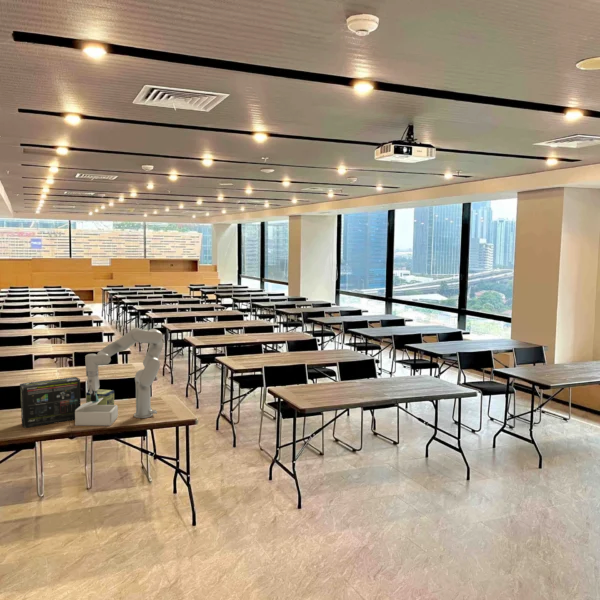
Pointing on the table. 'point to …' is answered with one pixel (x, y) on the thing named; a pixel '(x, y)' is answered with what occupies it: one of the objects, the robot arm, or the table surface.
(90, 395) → the flap
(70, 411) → the router box
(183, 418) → the table surface
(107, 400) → the protein box
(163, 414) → the table surface
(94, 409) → the white open box
